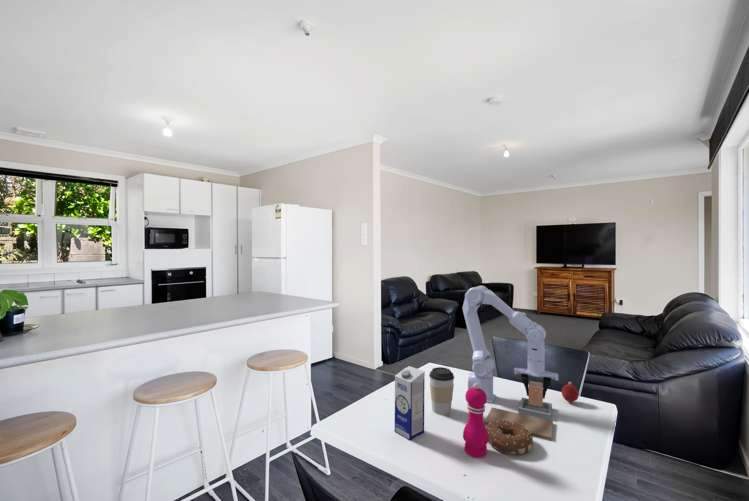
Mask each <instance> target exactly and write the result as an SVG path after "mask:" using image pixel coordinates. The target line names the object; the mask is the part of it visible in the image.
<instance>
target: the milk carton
mask: <svg viewBox="0 0 749 501" xmlns="http://www.w3.org/2000/svg"><path fill="white" fill-rule="evenodd" d="M425 372H426V371H424V370H422V369H420V368H416V367H414V366H410V365H408V366H407V367H405V368H403V369H402V370H401V371H399V372H398V373H396V374H395V375H394V432H395V433H396V434H398V435H399V436H402V437H403V438H405V439H407V440H408V441H411V440H413V439H415V438H417V437H420V436H421V435H423V434H425V387H426V386H425V384H426V383H425V378H426V377H425V374H426V373H425Z"/></svg>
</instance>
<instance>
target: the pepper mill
mask: <svg viewBox="0 0 749 501" xmlns="http://www.w3.org/2000/svg"><path fill="white" fill-rule="evenodd" d="M464 396H465V400H466V402H467V405H466V406H467V407H466V409H467V411H468V416H467V417H468V419H467V422H466V423H465V426H464V428H463V432H462V438H463V440H464V442H465V443H464V452H465V453H466V454H467V455H469V456H470V457H474V458H477V459H478V458H479V459H480V458H484V457H486V456H487V453H488V446H487V444H489V443H488V441H489V436H488V432H487V429H486V427H487V426H486V424H485V419H484V413H485V412H486V406H485V405H486V403H488V402H487V396H486V393H485V392H484V391H483V390H482V389H480V388H479V384H478V383H474V384H473V388H470V389H468V388H467V391H466V392H465V395H464Z"/></svg>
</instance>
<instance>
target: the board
mask: <svg viewBox="0 0 749 501" xmlns="http://www.w3.org/2000/svg"><path fill="white" fill-rule="evenodd" d="M488 412H489V413H488V414H487V417H486V418H485V419H484V424H485V426H488V424H489V423H491V422H494V421H499V420H506V421H507V420H508V421H510V422H515V423H519V424H520V425H522V426H524V427H525V428H526V429H528V431H529V432H530V434H531V435H532V437H535V438H539V439H543V440H547V441H550V442H551V441H552V439H553V438H552V437H553V428H554V420H552V419H551V420H547V419H543V418H538V417H534V416H529V415H525V414H520V413H518V412H515V411H510V410H506V409H501V408H497V407H494V406H493V407H491V408H490V410H489V411H488Z"/></svg>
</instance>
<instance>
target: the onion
mask: <svg viewBox="0 0 749 501" xmlns="http://www.w3.org/2000/svg"><path fill="white" fill-rule="evenodd" d="M561 395H562V398H563V399H564V400H565V401H567V402H568V403H569V404H571V403H574V402H576V401H577V400H578V399H579V396H580V394H579V390H578V389H577V387H576V386H575V385H573V382H572V381H569V382H568V383H567V384H564V385H563V387H562V388H561Z"/></svg>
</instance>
